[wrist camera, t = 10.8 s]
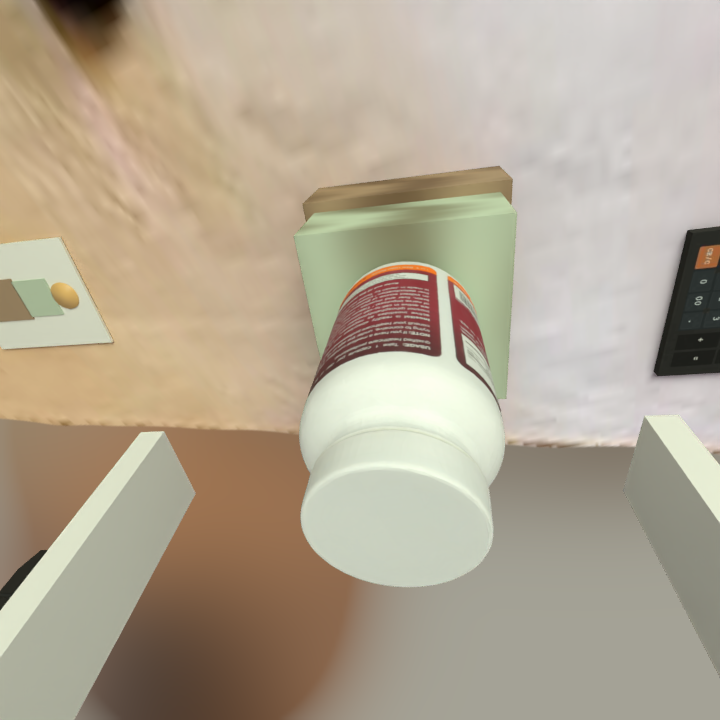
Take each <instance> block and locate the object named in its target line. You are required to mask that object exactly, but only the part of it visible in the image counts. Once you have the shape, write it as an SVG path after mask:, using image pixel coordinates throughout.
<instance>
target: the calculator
mask: <svg viewBox="0 0 720 720" xmlns="http://www.w3.org/2000/svg"><path fill="white" fill-rule="evenodd" d="M654 372H655V373H656V375H657V376H668V375H686V374H703V373H720V227H711V228H702V229H694V230H688V231H687V235H686V239H685V244H684V248H683V252H682V256H681V260H680V264H679V269H678V273H677V277H676V281H675V285H674V289H673V294H672V298H671V302H670V306H669V310H668V314H667V319H666V323H665V327H664V331H663V335H662V339H661V344H660V348H659V352H658V356H657V360H656V364H655V369H654Z"/></svg>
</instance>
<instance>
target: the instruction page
mask: <svg viewBox="0 0 720 720" xmlns="http://www.w3.org/2000/svg"><path fill="white" fill-rule="evenodd" d="M109 342H113V339H112V337H111V335H110V333H109V331H108V329H107V327H106V325H105V323H104V321H103V319H102V317H101V315H100V313H99V311H98V309H97V307H96V305H95V303H94V301H93V299H92V297H91V295H90V293H89V292H88V290H87V288H86V286H85V284H84V282H83V280H82V278H81V276H80V274H79V272H78V270H77V268H76V266H75V264H74V262H73V260H72V258H71V256H70V254H69V252H68V250H67V248H66V246H65V244H64V242H63V240H62V238H61V237H55V238H47V239H38V240H29V241H21V242H12V243H4V244H0V346H1V348H2V349H14V348H30V347H46V346H62V345H77V344H93V343H109Z"/></svg>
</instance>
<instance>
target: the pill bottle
mask: <svg viewBox="0 0 720 720" xmlns="http://www.w3.org/2000/svg"><path fill="white" fill-rule="evenodd" d="M299 441H300V448H301V453H302V456H303V459H304V462H305V464H306V466H307V469H308V470H309V472H310V477H309V481H308V485H307V488H306V492H305V495H304V499H303V502H302V507H301V525H302V530H303V532H304V535H305V537H306V539H307V541H308V543H309V544H310V546H311V547H312V548H313V549H314V550H315V552H316V553H317V554H318V555H319V556H320V557H321V558H323V559H324V560H325V561H326V562H328V563H329V564H330V565H332V566H333V567H335V568H337V569H339V570H341V571H342V572H344V573H346V574H348V575H351V576H353V577H355V578H358V579H361V580H364V581H367V582H371V583H376V584H381V585H386V586H395V587H423V586H432V585H436V584H441V583H445V582H449V581H451V580H454V579H456V578H459V577H461V576H462V575H465V574H466V573H468V572H470V571H471V570H473V569H474V568H475V567H476V566H478V565H479V563H481V562H482V561H483V560H484V558H485V556H486V555H487V553H488V551H489V550H490V548H491V545H492V540H493V533H494V530H493V518H492V510H491V501H490V493H489V488H488V487H489V486H490V485H491V483H492V482H493V481H494V479H495V478H496V475H497V473H498V472H499V469H500V467H501V464H502V461H503V457H504V450H505V432H504V426H503V420H502V415H501V410H500V407H499V403H498V399H497V395H496V391H495V387H494V382H493V379H492V375H491V371H490V366H489V363H488V359H487V355H486V351H485V346H484V342H483V338H482V334H481V330H480V326H479V322H478V318H477V313H476V310H475V308H474V305H473V302H472V300H471V298H470V296H469V294H468V293H467V291H466V290H465V288H464V287H463V286H462V285H461V284H460V283H459V282H458V281H457V280H456V279H455V278H454V277H452V276H451V275H450V274H448V273H447V272H445V271H443V270H441V269H439V268H437V267H435V266H432V265H429V264H425V263H420V262H395V263H390V264H385V265H383V266H380V267H377V268H375V269H373V270H371V271H370V272H368V273H366V274H365V275H363V276H362V277H361V278H360V279H359V280H357V281H356V282H355V283H354V285H353V286H352V287H351V288H350V289H349V291H348V292H347V294H346V296H345V298H344V300H343V302H342V304H341V306H340V308H339V311H338V314H337V317H336V320H335V323H334V325H333V328H332V331H331V334H330V337H329V339H328V342H327V345H326V348H325V350H324V353H323V356H322V359H321V361H320V364H319V367H318V370H317V373H316V376H315V378H314V381H313V384H312V386H311V389H310V392H309V395H308V398H307V400H306V404H305V407H304V410H303V414H302V417H301V421H300V430H299Z"/></svg>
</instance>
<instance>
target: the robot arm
mask: <svg viewBox="0 0 720 720" xmlns="http://www.w3.org/2000/svg"><path fill="white" fill-rule="evenodd" d="M623 492H624V494H625V496H626V498H627V499H628V501H629V503H630V505H631V507H632V509H633V511H634V513H635V515H636V517H637V519H638V521H639V523H640V524H641V526H642V528H643V530H644V532H645V534H646V536H647V538H648V540H649V542H650V544H651V546H652V548H653V550H654V552H655V553H656V555H657V557H658V559H659V561H660V563H661V565H662V567H663V569H664V571H665V572H666V575H667V576H668V578H669V580H670V582H671V584H672V586H673V588H674V590H675V592H676V594H677V596H678V598H679V600H680V602H681V603H682V605H683V607H684V609H685V611H686V613H687V615H688V617H689V619H690V621H691V623H692V625H693V627H694V629H695V631H696V632H697V634H698V636H699V638H700V640H701V642H702V644H703V646H704V648H705V650H706V651H707V654H708V656H709V658H710V659H711V661H712V663H713V665H714V667H715V669H716V671H717V673H718V675H719V677H720V465H719V464H718V463H717V462H716V460H715V459H714V458H713V456H712V455H711V454H710V453H709V452H708V450H707V449H706V448H705V447H704V445H703V444H702V443H701V442H700V440H699V439H698V438H697V437H696V435H695V434H694V433H693V432H692V431H691V429H690V428H689V427H688V426H687V424H686V423H685V422H684V421H683V419H682V418H681V417H680V416H679V415H658V416H644V420H643V423H642V427H641V430H640V434H639V437H638V441H637V444H636V447H635V451H634V454H633V458H632V461H631V465H630V469H629V472H628V475H627V479H626V482H625V486H624V489H623ZM194 495H195V491H194V489H193V488H192V485H191V483H190V482H189V480H188V478H187V476H186V474H185V472H184V470H183V468H182V466H181V464H180V462H179V460H178V458H177V456H176V454H175V452H174V450H173V448H172V446H171V444H170V442H169V440H168V438H167V436H166V434H165V432H141V433H140V434H139V435H138V437H137V438H136V439H135V440H134V442H133V443H132V444H131V446H130V447H129V448H128V449H127V451H126V452H125V453H124V454H123V456H122V457H121V458H120V460H119V461H118V462H117V463H116V465H115V466H114V467H113V468H112V470H111V471H110V472H109V473H108V475H107V476H106V477H105V479H104V480H103V481H102V482H101V484H100V485H99V486H98V487H97V489H96V490H95V491H94V493H93V494H92V495H91V496H90V497H89V499H88V500H87V501H86V503H85V504H84V505H83V506H82V508H81V509H80V510H79V511H78V513H77V514H76V515H75V517H74V518H73V519H72V520H71V522H70V523H69V524H68V525H67V527H66V528H65V529H64V530H63V532H62V533H61V535H60V536H59V537H58V538H57V539H56V541H55V542H54V543H53V544H52V546H51V547H50V548H49V549H48V550H41V551H39V552H38V553H37V554H36V555H35V556H33V557H32V558H31V559H30V560H29V561H27V562H26V563H25V564H24V565H23V566H22V567H20V568H19V569H18V570H17V571H16V573H15V574H14V575H13V576H12V577H11V579H10V580H9V581H8V582H7V583H6V585H5V586H4V587H3V588H2V589H1V591H0V720H74V719H75V717H76V715H77V714H78V712H79V710H80V708H81V706H82V704H83V702H84V700H85V699H86V697H87V695H88V693H89V691H90V689H91V687H92V685H93V684H94V682H95V680H96V678H97V676H98V674H99V673H100V671H101V669H102V667H103V665H104V663H105V661H106V659H107V657H108V656H109V654H110V652H111V650H112V648H113V646H114V644H115V643H116V641H117V639H118V637H119V635H120V633H121V632H122V629H123V628H124V626H125V624H126V622H127V620H128V618H129V617H130V614H131V613H132V611H133V609H134V607H135V605H136V603H137V601H138V600H139V598H140V596H141V594H142V592H143V590H144V589H145V587H146V585H147V583H148V581H149V579H150V577H151V576H152V573H153V572H154V570H155V568H156V566H157V564H158V563H159V561H160V559H161V557H162V555H163V553H164V551H165V549H166V548H167V546H168V544H169V542H170V540H171V538H172V536H173V534H174V533H175V531H176V529H177V527H178V525H179V523H180V522H181V520H182V518H183V516H184V514H185V512H186V510H187V508H188V507H189V505H190V503H191V501H192V499H193V497H194Z"/></svg>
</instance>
